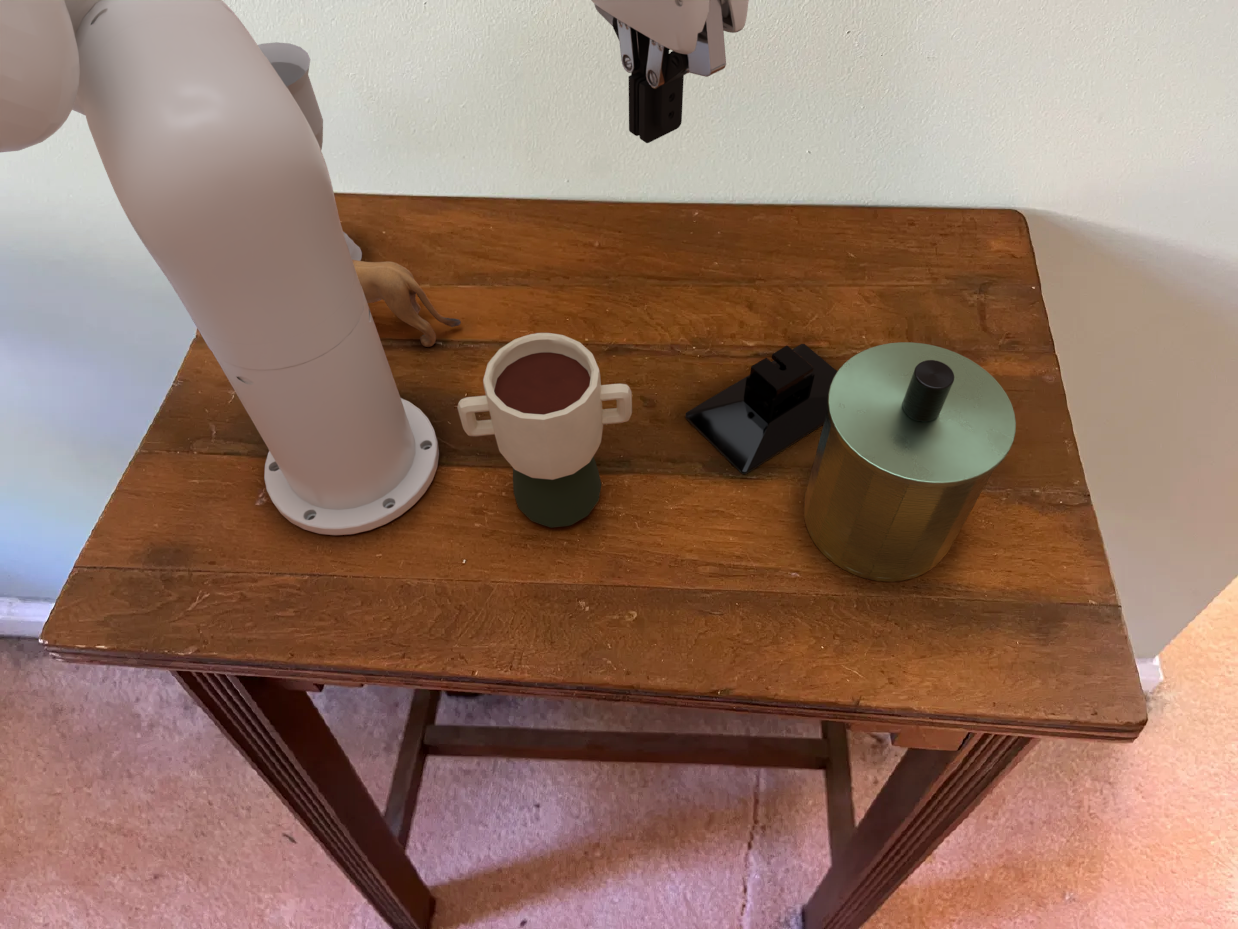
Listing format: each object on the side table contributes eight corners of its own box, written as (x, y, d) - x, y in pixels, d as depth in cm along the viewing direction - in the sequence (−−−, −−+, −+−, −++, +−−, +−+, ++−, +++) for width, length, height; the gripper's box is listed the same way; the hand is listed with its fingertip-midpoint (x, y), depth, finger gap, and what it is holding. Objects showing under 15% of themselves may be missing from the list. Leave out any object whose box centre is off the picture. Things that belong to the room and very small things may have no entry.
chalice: (362, 285, 76) (296, 94, 62) (286, 285, 77) (203, 95, 62) (378, 232, 81) (320, 41, 66) (306, 232, 81) (232, 42, 66)
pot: (773, 510, 61) (796, 405, 52) (869, 437, 65) (907, 327, 56) (885, 610, 57) (932, 514, 47) (982, 525, 60) (1043, 420, 51)
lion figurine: (282, 347, 72) (241, 263, 65) (299, 302, 75) (262, 217, 68) (457, 349, 71) (435, 264, 64) (466, 304, 75) (447, 218, 67)
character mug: (628, 449, 65) (625, 324, 54) (638, 529, 61) (637, 410, 50) (482, 462, 64) (451, 339, 54) (483, 544, 60) (449, 428, 50)
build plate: (802, 346, 71) (811, 304, 67) (867, 400, 67) (880, 359, 64) (683, 416, 67) (686, 375, 63) (745, 478, 63) (753, 438, 59)
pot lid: (787, 411, 53) (797, 365, 49) (904, 329, 56) (920, 281, 53) (930, 527, 48) (951, 484, 44) (1047, 427, 51) (1075, 381, 48)
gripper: (828, -189, 40) (777, 159, 55) (624, -261, 47) (627, 65, 62) (709, -147, 37) (688, 208, 52) (510, -231, 44) (542, 103, 59)
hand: (655, 129), depth 57 cm, fingers closed
